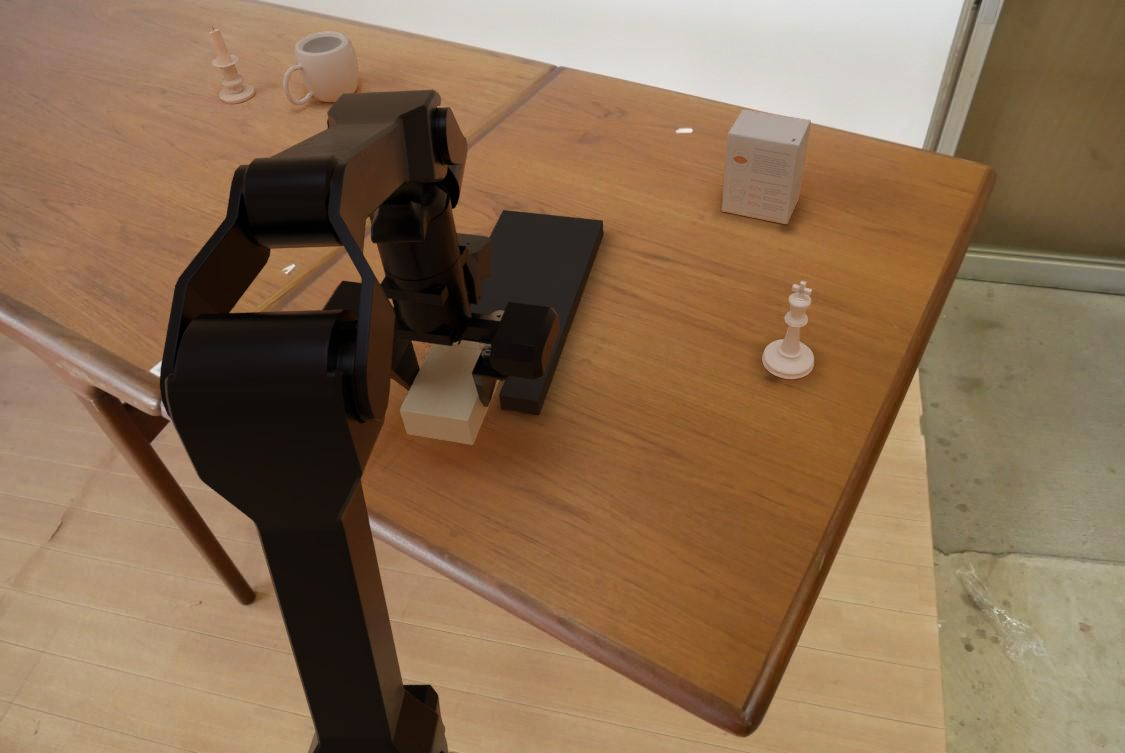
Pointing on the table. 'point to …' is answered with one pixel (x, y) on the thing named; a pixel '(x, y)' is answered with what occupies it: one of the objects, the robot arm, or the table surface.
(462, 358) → the beige stepped block
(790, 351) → the chess piece
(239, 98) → the candle
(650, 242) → the table surface
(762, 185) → the small box
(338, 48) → the mug
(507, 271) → the socket pad
